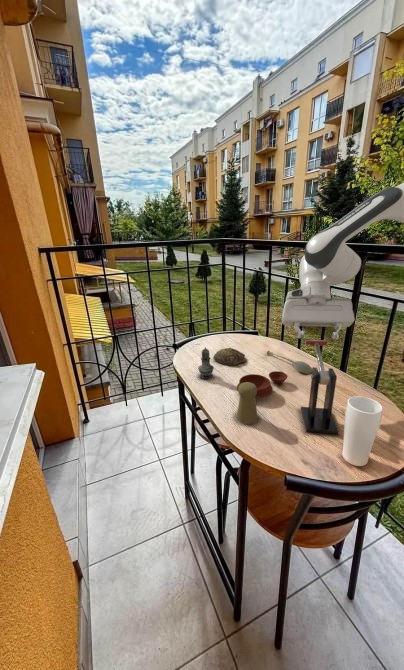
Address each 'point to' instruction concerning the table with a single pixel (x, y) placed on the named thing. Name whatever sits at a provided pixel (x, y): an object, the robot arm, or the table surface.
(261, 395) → the pottery
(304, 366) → the soupspoon
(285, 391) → the table surface
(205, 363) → the grey tall knobbed piece
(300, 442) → the table surface
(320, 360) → the lever
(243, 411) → the olive pawn figure
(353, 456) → the drinking glass
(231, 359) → the brown rounded lump
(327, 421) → the bracket
